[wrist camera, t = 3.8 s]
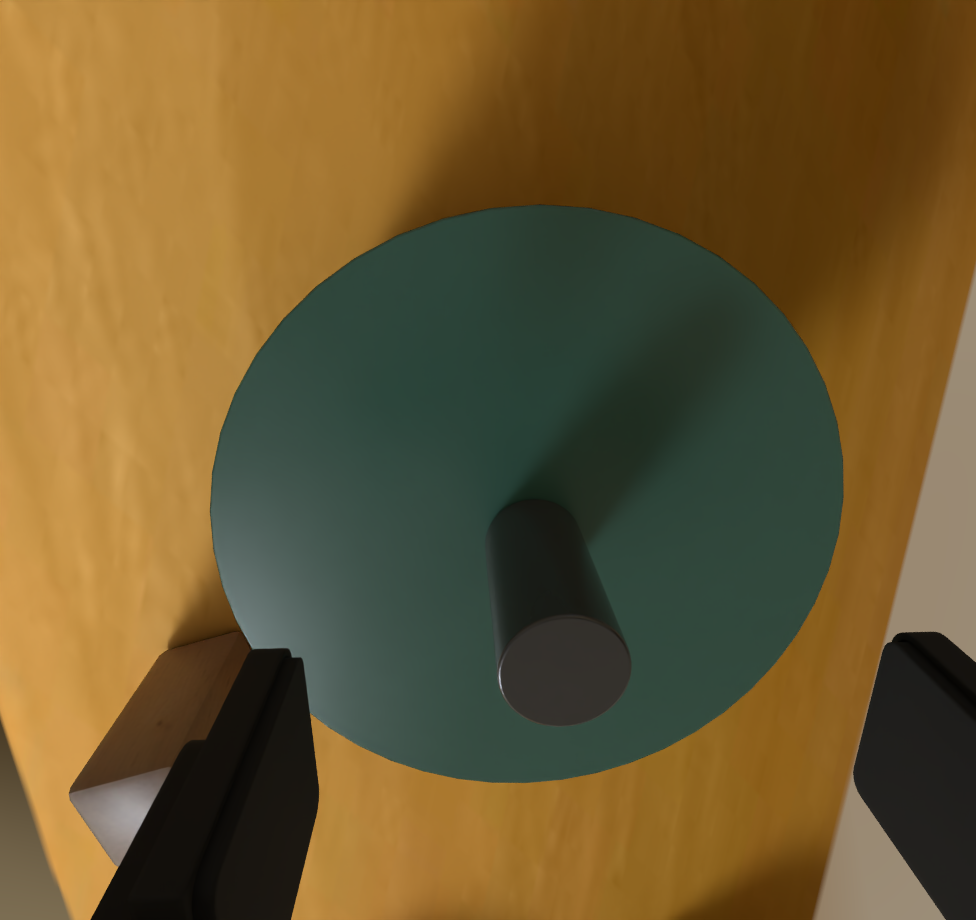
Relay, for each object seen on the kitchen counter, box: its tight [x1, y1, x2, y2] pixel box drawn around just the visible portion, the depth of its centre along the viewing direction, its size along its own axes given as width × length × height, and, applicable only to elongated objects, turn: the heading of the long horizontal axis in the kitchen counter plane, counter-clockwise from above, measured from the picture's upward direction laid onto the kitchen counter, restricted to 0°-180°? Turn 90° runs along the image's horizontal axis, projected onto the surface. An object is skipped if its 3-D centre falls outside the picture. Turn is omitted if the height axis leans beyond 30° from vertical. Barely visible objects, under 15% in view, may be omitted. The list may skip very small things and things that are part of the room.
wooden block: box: [69, 632, 251, 867], centre depth 26 cm, size 4×4×8 cm
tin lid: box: [210, 204, 843, 783], centre depth 14 cm, size 16×16×6 cm
